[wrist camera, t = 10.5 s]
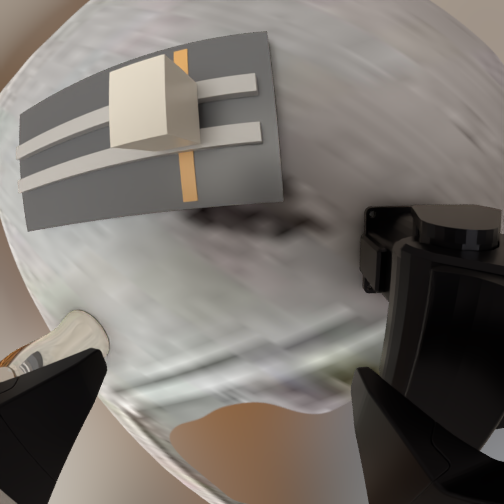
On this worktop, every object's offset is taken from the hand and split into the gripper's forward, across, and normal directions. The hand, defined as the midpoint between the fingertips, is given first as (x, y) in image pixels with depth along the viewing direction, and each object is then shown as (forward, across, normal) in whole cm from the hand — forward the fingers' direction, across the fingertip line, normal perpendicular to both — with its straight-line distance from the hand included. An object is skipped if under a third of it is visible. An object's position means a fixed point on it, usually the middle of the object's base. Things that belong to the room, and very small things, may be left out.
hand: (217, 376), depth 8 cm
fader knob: (+11, +4, -10) cm, 15 cm away
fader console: (+13, +10, -10) cm, 19 cm away
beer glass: (+13, +18, +9) cm, 24 cm away
